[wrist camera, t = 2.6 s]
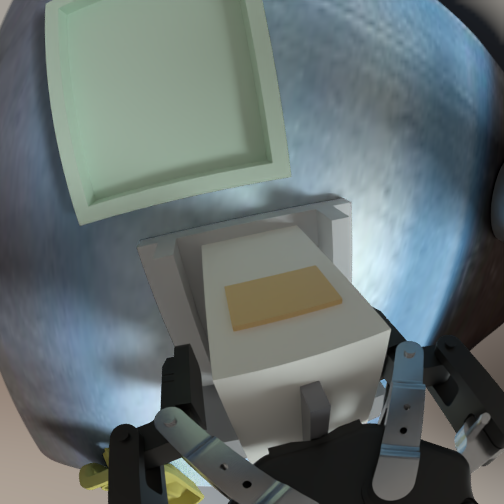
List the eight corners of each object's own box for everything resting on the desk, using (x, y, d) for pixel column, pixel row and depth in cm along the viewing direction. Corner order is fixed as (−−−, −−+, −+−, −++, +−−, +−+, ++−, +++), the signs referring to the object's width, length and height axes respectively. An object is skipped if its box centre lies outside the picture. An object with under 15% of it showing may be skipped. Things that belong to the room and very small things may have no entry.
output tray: (244, -32, 10) (250, -49, 8) (279, 170, 15) (291, 176, 13) (59, 14, 9) (45, 4, 7) (92, 214, 14) (79, 226, 12)
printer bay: (343, 197, 16) (419, 243, 10) (341, 352, 22) (379, 416, 16) (139, 240, 15) (108, 316, 9) (198, 388, 21) (205, 464, 15)
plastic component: (207, 498, 29) (152, 523, 25) (182, 463, 35) (131, 487, 30) (156, 459, 19) (73, 493, 15) (127, 404, 25) (55, 436, 20)
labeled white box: (296, 221, 15) (410, 345, 6) (305, 334, 19) (367, 458, 10) (200, 242, 15) (214, 405, 6) (230, 353, 19) (260, 491, 10)
